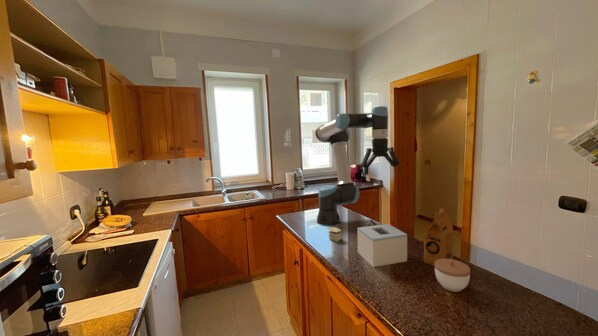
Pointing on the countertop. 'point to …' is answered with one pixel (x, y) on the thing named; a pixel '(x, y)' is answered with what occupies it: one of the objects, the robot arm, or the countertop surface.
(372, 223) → the fossil
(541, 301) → the countertop surface
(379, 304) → the countertop surface
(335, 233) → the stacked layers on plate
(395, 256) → the slot box
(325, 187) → the robot arm
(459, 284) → the lidded jar
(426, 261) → the coffee package
